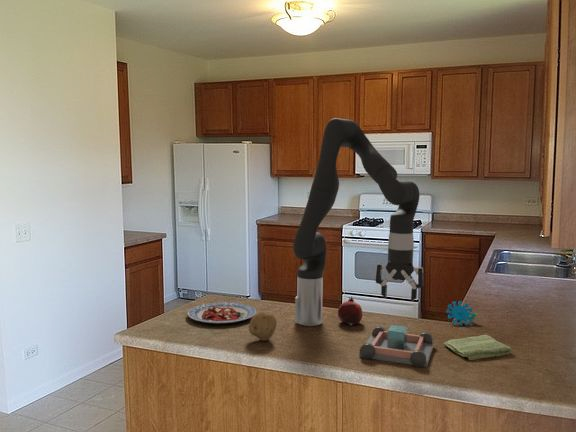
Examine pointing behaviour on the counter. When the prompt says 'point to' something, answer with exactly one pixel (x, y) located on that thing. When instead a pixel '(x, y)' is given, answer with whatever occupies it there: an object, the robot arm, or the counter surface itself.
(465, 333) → the counter surface
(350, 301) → the fruit
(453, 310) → the gear
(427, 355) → the chassis
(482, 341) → the washcloth
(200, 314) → the ceramic plate
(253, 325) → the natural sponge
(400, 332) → the teal glassy cube
